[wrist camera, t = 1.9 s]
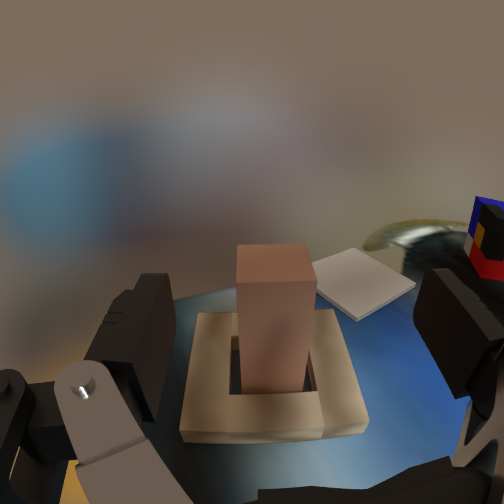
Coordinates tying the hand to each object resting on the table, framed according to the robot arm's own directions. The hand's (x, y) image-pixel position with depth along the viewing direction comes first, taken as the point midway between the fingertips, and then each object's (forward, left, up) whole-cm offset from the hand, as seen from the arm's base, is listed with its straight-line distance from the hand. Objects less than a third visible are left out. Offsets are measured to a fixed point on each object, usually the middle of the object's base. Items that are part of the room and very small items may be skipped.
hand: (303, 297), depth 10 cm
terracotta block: (-6, -10, -17) cm, 21 cm away
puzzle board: (-6, -10, -17) cm, 21 cm away
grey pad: (-24, -17, -17) cm, 34 cm away
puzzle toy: (-49, -5, -17) cm, 52 cm away
